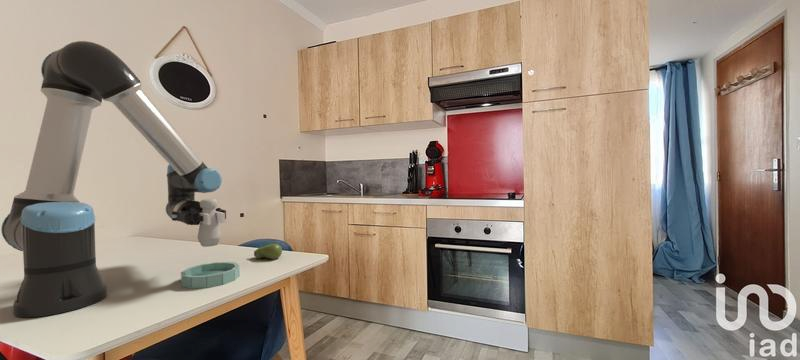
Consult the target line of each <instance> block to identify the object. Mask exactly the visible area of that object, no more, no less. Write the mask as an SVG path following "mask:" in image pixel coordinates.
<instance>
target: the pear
mask: <svg viewBox="0 0 800 360" xmlns="http://www.w3.org/2000/svg"><path fill="white" fill-rule="evenodd" d="M282 253H283V248H282V246H281V245H280V244H277V243H271V244H267V245H265V246H261V247H258V248H256V250H254V251H253V256H254V259H255V258H256V259H255V260H261V259H263V258H265V259H269V260H276V259H278V258H280V257H281V256H282Z"/></svg>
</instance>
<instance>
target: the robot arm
mask: <svg viewBox="0 0 800 360" xmlns="http://www.w3.org/2000/svg"><path fill="white" fill-rule="evenodd" d="M40 69H41V70H40V71H41V76H42V78H43V79H42V83H41V87H40V92H41V93H42V94H43V95H44V96H45V97H46V100H47V101H46V104H45V108H44V113H43V117H42V120H41V125H40V128H39V133H38V138H37V142H36V145H35V149H34V153H33V158H32V162H31V166H30V168H29V174H28V178H27V182H26V185H25V186H26V187H25V190H24V191H23V192H21V193H19V194H16V195H14V197H13V200H12V204H11V208H10V213H8V214H7V216H6V217H4V220H3V222H2V224H1V229H0V230H1V235H2V238H3V239H4V241H5V242H6V243H7V244H8V245H9V246H11V247H12V248H13V249H15V250H17V251H20V252H22V255H23V274H24V275H23V276H24V277H23V280H22V282H21V284H20V287H19V290H18V291H17V296H16V299H14V302H13V306H12V308H13V309H12V310H13V316H15V317H18V318H36V317H46V316H52V315H58V314H62V313H66V312H71V311H74V310H78V309H82V308H85V307H87V306H90V305H93V304H96V303H98V302H100V301H102V300H103V299H105V297H107V295H108V293H107V291H108V290H107V289H108V288H107V284H106V283H105V282H104V279H103V277H102V275H101V273H100V271H99V268H98V267H97V261H96V260H97V259H96V257H97V256H96V255H97V254H96V233H95V232H96V231H95V221H96V216H95V212H94V208H93V206H92V205H90V204H88V203H85V202H81V201H80V200H78V198H77V197H76V195H74V194H75V188H76V184H77V180H78V176H79V170H80V166H81V163H82V158H83V153H84V147H85V143H86V141H87V140H86V139H87V135H88V130H89V125H90V122H91V117H92V112H93V109H95V108H98V107H101V105H102V102H103V101H105V102H109V103H111V104H113V106H115V107H116V108H117V110H118V111H119V112H120V113H121V114H122V115H123V116H124V117H125V118H126V119H127V121H128V122H130V123H131V125H132V126H133V127H134V128H135V129H136V130H137V131H138V132H139V133H140V135H141V136H143V138H144V139H145V140H146V141H147V142H148V143H149V144H150V145H151V146H152V147H153V148H154V149H155V150H156V152H158V154H159V155H160V156H161V157H162V158H163V159H164V161H166V162H167V163H168V165H167V166H166V167H167V169H166V180H167V203H166V206H165V213H166V215H167V216H168V217H169V218H170V219H171V221H174V222H181V223H183V224H186V225H187V226H198V225H199V226H200V223H203V224H206V225H211V218H210V214H206V213H202V209H203V208H201V207H200V201H197V200H195V198H196V197H195V193H202V194H207V193H213V192H216V191H217V190H218V189H220V187H221V185H222V181H223V180H222V176H221V173H220V172H219V171H218V170H216V169H214V168H210V167H208V166H207V165H206V164H205V163H204V161H202V159H201V158H200V157H199V155H197V153H196V151H194V150H193V148H192V147H191V146H190V145H189V144H188V143H187V142H186V140H185V139H184V137H183V136H181V134H180V133H179V132H178V131H177V130H176V128H175V127H174V125H172V123H171V122H170V121H169V120H168V119H167V118H166V116H165V115H164V114H163V113H162V112H161V110H160V109H159V108H158V107H157V106H156V104H155V103H154V102H153V101H152V99H151V98H150V97H149V96H148V95H147V94H146V93H145V91H144V90H143V89H142V81H141V80H140V79H139V77H137V76H136V74H135V73H134V72H133V70H132V69H131V68H130V67H129V66H128V65H127V64H126V63H125V62H124V61H123V60H122V59H121V58H120V57H119V56H118V55H117V54H115V53H114V52H112V50H110V49H109V48H107V47H105V46H103V45H101V44H98V43H96V42H93V41H83V40H78V41H72V42H70V43H68V44H66V45H64V46H63V47H62V48H60V49H58V50H55V51H54V50H53V51H52V52H51V53H50V54H48V55H47V56H46V57H45V58H44V59H43V61H42V64H41V67H40ZM215 210H216V218H217V222H218V223H220V224H226V219H227V210H226V209H222V208H221V207H215Z"/></svg>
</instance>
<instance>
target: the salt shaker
mask: <svg viewBox="0 0 800 360" xmlns="http://www.w3.org/2000/svg"><path fill="white" fill-rule="evenodd" d="M199 202H200V207H201V208H203V209H202V213H206V214H210V218H211V225H206V224H203V223H199V226H198V233H197V241H198V242H199V244H200V246H201V247H204V248H205V247H206V248H207V247H210V248H211V247H215V246H218V245H219V243H220V240H221V239H222V233H221V229H220V224H219V222H217V218H216V210H215V209H216V208H218V200H217V199H215V198H206V199H205V198H204V199H201V200H199Z"/></svg>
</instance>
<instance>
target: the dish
mask: <svg viewBox="0 0 800 360" xmlns="http://www.w3.org/2000/svg"><path fill="white" fill-rule="evenodd" d="M239 277H240V265H239V264H238V263H237V262H231V261H217V262H215V261H214V262H210V263H202V264H197V265H195V266H191V267H188V268H186V269H183V270H182V271H180V284H181V285H180V286H181V287H183V288H187V289H207V288H213V287H218V286H223V285H226V284H228V283H231V282H234V281H236V280H237V279H238V278H239Z"/></svg>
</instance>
